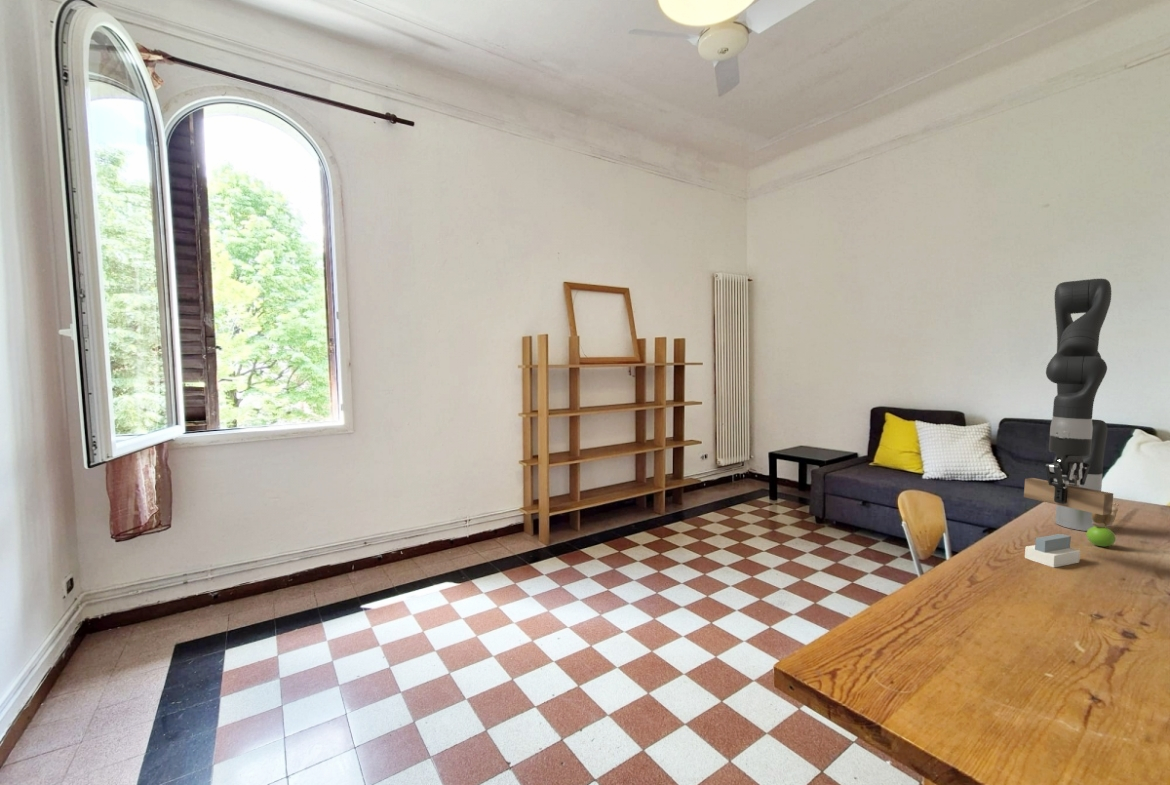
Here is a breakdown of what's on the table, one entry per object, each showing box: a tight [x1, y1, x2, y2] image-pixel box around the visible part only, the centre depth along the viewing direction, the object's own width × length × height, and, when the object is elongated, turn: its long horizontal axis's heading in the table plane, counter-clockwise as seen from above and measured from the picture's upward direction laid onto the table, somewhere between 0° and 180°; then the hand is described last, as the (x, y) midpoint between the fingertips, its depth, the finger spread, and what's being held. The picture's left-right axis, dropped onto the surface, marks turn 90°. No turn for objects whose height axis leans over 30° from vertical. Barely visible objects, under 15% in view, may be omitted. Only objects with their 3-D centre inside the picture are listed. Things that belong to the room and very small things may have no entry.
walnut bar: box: [1023, 477, 1114, 515], centre depth 123 cm, size 4×16×5 cm, turn 18°
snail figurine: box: [1086, 502, 1120, 548], centre depth 132 cm, size 5×6×12 cm
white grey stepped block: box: [1024, 533, 1081, 568], centre depth 122 cm, size 10×6×6 cm, turn 108°
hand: (1065, 501), depth 123 cm, fingers closed on walnut bar, 3 cm apart
